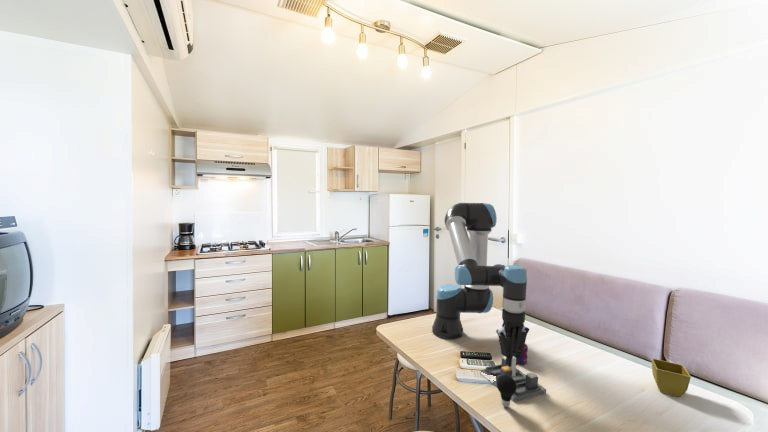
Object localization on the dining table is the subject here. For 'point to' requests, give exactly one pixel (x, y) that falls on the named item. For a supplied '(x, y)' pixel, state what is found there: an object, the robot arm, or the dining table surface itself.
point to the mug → (523, 356)
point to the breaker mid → (506, 371)
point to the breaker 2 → (531, 380)
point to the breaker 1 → (503, 361)
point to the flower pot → (670, 377)
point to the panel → (519, 379)
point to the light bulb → (506, 388)
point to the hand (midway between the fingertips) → (511, 374)
